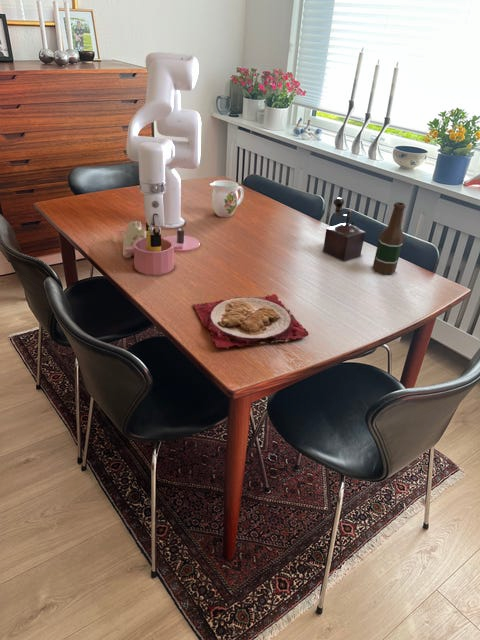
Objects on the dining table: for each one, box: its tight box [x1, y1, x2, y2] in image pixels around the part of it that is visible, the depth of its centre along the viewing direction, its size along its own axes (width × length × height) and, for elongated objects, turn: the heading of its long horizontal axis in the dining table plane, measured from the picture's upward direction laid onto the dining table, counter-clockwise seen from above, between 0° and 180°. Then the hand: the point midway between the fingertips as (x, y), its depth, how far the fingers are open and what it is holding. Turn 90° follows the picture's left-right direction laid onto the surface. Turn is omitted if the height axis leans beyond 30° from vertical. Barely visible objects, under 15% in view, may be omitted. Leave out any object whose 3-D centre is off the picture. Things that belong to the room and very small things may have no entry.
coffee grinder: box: [322, 197, 366, 262], centre depth 178 cm, size 16×11×18 cm
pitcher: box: [209, 179, 245, 218], centre depth 204 cm, size 11×18×14 cm, turn 130°
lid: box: [164, 227, 201, 252], centre depth 175 cm, size 14×14×6 cm
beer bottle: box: [372, 201, 406, 276], centre depth 164 cm, size 8×8×24 cm
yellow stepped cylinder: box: [146, 227, 161, 252], centre depth 156 cm, size 5×5×13 cm
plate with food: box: [192, 293, 310, 349], centre depth 134 cm, size 24×26×3 cm
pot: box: [125, 236, 182, 276], centre depth 158 cm, size 13×18×8 cm
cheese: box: [122, 220, 146, 259], centre depth 168 cm, size 15×7×15 cm
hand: (153, 240), depth 155 cm, fingers open, 9 cm apart
